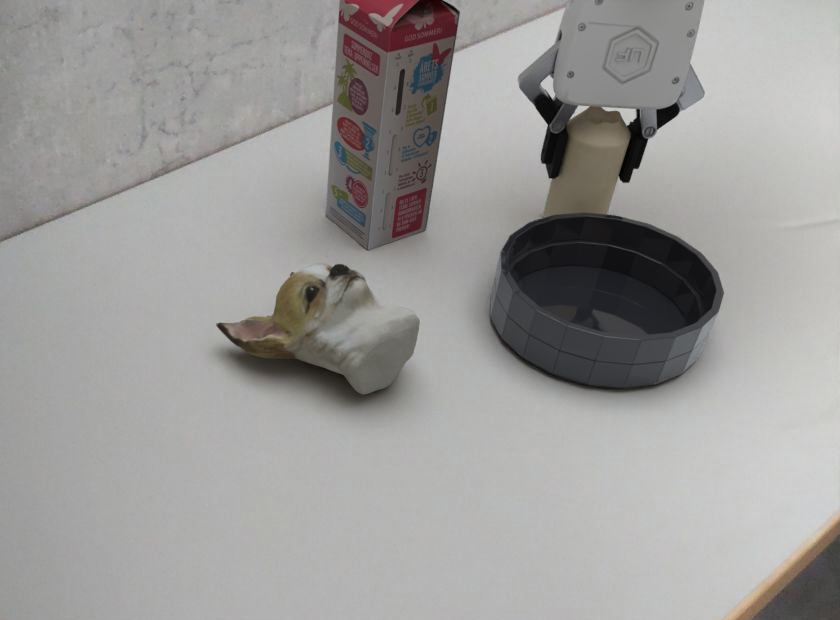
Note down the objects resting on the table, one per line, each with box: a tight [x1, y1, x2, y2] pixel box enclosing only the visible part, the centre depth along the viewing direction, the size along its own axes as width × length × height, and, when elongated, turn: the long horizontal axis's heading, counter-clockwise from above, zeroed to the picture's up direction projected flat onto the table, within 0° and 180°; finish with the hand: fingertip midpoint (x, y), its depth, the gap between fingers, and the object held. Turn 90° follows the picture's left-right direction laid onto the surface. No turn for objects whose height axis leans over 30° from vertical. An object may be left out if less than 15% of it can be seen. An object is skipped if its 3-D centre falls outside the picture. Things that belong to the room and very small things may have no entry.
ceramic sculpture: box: [215, 263, 421, 396], centre depth 71 cm, size 11×9×15 cm
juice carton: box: [325, 0, 461, 251], centre depth 79 cm, size 7×7×22 cm
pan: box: [489, 213, 725, 389], centre depth 76 cm, size 17×17×5 cm
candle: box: [542, 106, 631, 218], centre depth 83 cm, size 6×6×10 cm
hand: (586, 171), depth 83 cm, fingers closed on candle, 5 cm apart
